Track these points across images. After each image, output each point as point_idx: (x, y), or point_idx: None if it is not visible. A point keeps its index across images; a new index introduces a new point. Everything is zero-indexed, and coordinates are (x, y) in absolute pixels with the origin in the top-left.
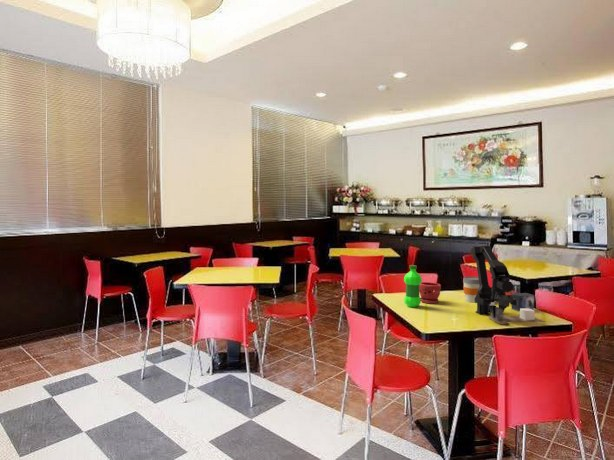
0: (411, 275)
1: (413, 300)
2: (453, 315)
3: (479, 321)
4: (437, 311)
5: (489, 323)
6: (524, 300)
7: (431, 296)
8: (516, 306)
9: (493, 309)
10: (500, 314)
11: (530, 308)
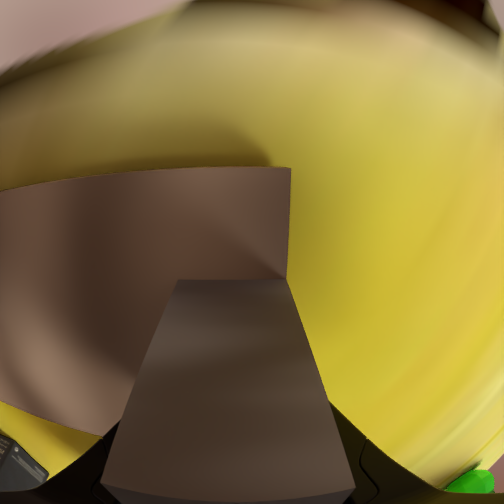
0: None
1: (488, 482)
2: (452, 436)
3: (433, 337)
4: (450, 465)
5: (393, 259)
6: None
7: None
8: (15, 477)
9: (396, 482)
10: (224, 357)
11: None
